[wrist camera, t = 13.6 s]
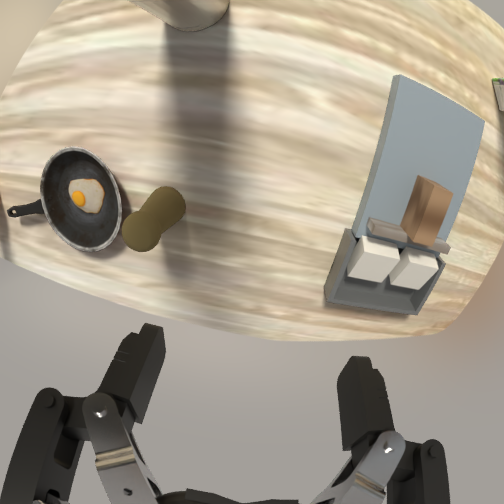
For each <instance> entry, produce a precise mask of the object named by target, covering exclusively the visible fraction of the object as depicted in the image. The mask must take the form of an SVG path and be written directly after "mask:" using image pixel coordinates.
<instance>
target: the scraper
mask: <svg viewBox="0 0 504 504" xmlns="http://www.w3.org/2000/svg"><path fill="white" fill-rule="evenodd" d="M453 194H454V193H452V192H451V191H449V190H448V189H446V188H445V187H443V186H441V185H440V184H438V183H437V182H435V181H432V180H430V179H427V178H425V177H422V176H420V175H417V178H416V182H415V185H414V188H413V191H412V193H411V196H410V199H409V202H408V205H407V208H406V210H405V213H404V216H403V218H402V221H401V224H400V226H399V225H396V224H392V223H389V222H385V221H382V220H378V219H374V218H371V217H369V219H368V221H367V224H366V225H367V227H368V228H369V230H370V231H371V233H372V234H374V235H378V236H382V237H386V238H390V239H393V240H397V241H401V242H405V243H408V244H412V245H416V246H420V247H423V248H427V249H430V250H434V251H437V252H441V253H444V254H448V252H449V250H450V248H451V247H450V246H449V245H448V244H447V243H446V242H445V241H444V240H443V239H442V238H439V237H437V235H438V232H439V230H440V228H441V225H442V223H443V220H444V218H445V215H446V213H447V210H448V208H449V205H450V202H451V199H452V197H453Z"/></svg>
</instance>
